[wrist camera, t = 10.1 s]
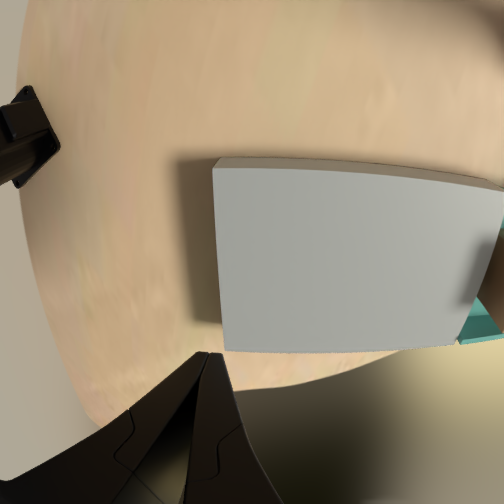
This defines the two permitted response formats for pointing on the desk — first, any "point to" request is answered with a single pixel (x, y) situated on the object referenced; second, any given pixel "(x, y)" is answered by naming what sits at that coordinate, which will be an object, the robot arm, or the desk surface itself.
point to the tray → (479, 323)
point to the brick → (494, 284)
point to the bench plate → (348, 253)
